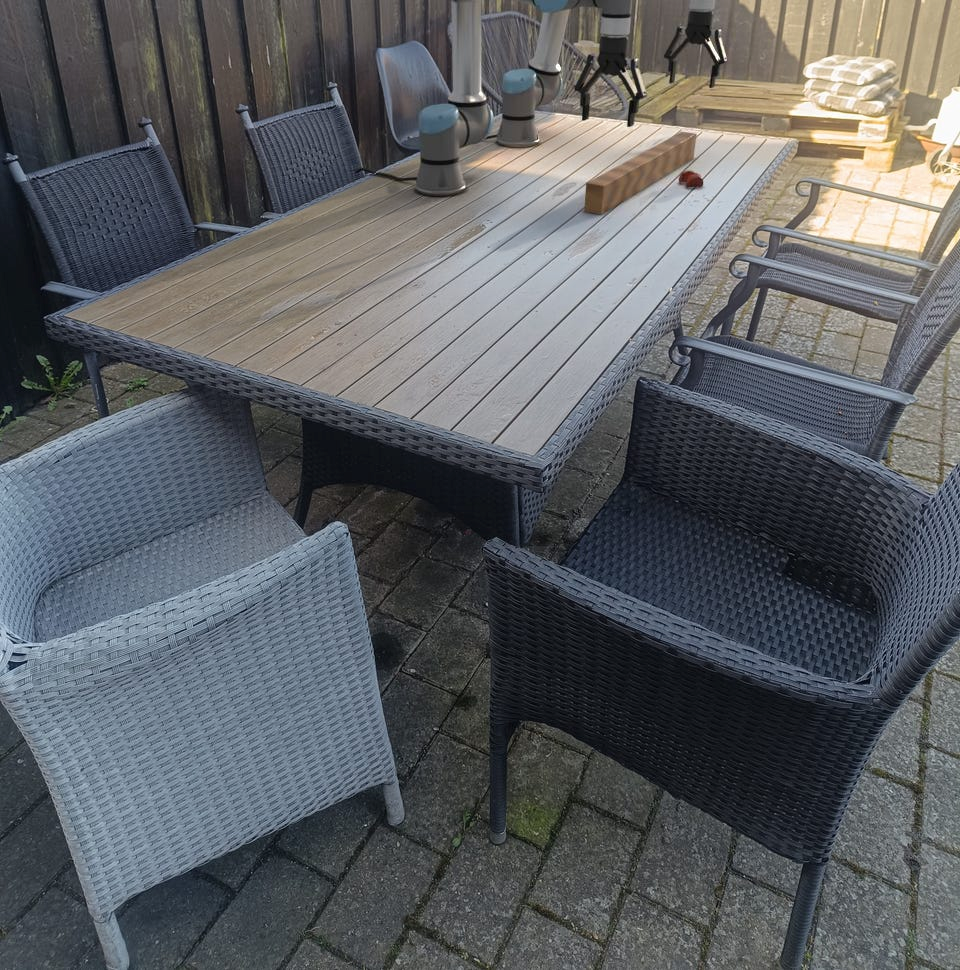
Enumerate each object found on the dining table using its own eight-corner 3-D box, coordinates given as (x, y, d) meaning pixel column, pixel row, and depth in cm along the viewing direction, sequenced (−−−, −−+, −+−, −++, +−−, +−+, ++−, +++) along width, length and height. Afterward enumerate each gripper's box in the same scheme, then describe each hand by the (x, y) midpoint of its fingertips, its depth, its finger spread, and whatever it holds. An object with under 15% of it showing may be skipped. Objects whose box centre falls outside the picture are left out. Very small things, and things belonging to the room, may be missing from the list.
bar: (601, 214, 239) (603, 186, 235) (584, 211, 242) (586, 183, 237) (693, 158, 288) (696, 133, 283) (678, 156, 290) (681, 131, 286)
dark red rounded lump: (694, 166, 263) (706, 173, 257) (693, 180, 266) (704, 187, 260) (677, 168, 262) (689, 175, 256) (676, 182, 265) (687, 189, 259)
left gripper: (665, 37, 214) (655, 125, 227) (578, 30, 225) (573, 114, 238) (653, 41, 209) (644, 131, 222) (565, 33, 220) (560, 119, 233)
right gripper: (745, 11, 257) (732, 87, 269) (668, 6, 268) (660, 79, 280) (736, 14, 252) (724, 91, 264) (659, 8, 263) (651, 82, 275)
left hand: (607, 122), depth 230 cm, fingers open, 13 cm apart
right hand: (691, 85), depth 272 cm, fingers open, 13 cm apart
